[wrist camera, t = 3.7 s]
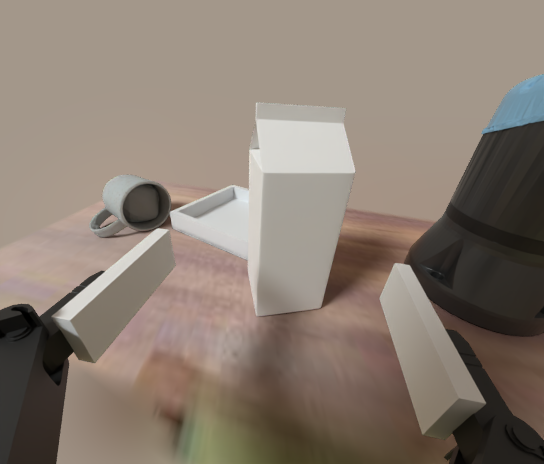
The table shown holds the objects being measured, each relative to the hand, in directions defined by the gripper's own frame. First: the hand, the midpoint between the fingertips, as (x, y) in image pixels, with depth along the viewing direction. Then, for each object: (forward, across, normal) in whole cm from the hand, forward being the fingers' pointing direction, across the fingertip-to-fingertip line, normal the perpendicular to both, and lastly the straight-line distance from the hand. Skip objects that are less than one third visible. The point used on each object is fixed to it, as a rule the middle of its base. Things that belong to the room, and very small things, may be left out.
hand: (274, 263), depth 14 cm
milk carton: (+9, 0, -11) cm, 14 cm away
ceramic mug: (+18, -25, -11) cm, 33 cm away
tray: (+23, -9, -11) cm, 27 cm away
